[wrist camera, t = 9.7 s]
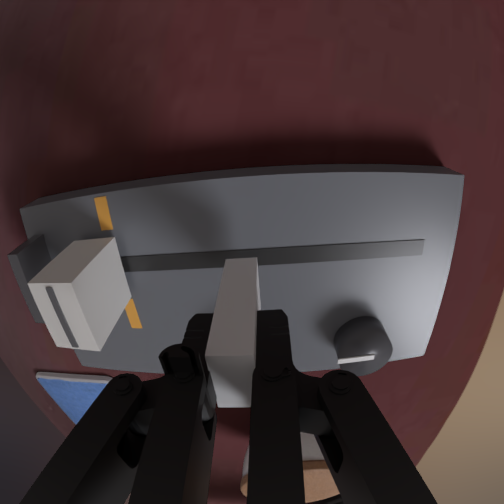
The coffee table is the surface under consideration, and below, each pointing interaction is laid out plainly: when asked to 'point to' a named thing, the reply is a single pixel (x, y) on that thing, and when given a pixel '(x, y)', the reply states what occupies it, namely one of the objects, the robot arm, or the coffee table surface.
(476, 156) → the coffee table surface
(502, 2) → the coffee table surface
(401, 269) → the console
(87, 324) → the fader tab
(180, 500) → the robot arm
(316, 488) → the lidded jar
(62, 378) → the tablet computer
